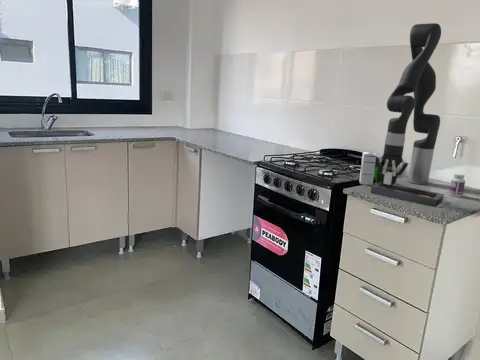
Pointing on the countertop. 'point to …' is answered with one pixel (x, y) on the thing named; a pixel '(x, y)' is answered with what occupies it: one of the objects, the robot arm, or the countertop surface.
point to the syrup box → (367, 168)
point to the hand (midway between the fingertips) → (388, 183)
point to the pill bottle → (457, 185)
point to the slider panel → (408, 194)
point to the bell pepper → (380, 174)
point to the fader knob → (388, 178)
